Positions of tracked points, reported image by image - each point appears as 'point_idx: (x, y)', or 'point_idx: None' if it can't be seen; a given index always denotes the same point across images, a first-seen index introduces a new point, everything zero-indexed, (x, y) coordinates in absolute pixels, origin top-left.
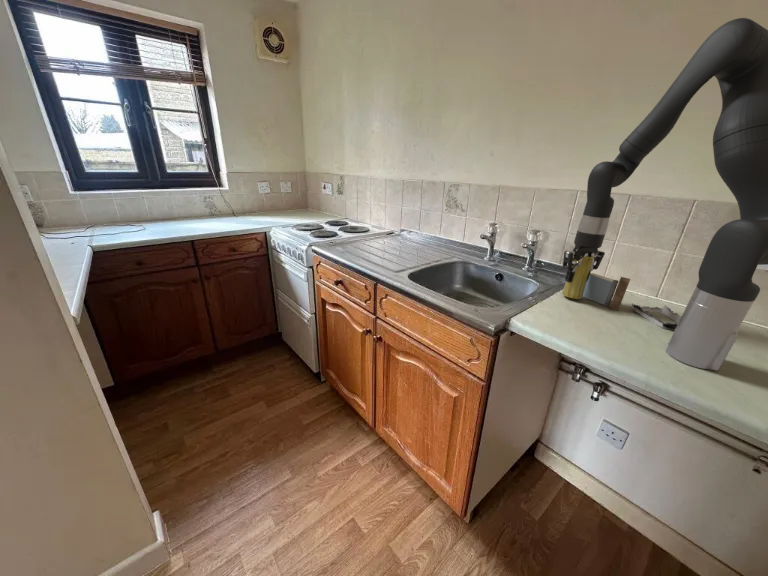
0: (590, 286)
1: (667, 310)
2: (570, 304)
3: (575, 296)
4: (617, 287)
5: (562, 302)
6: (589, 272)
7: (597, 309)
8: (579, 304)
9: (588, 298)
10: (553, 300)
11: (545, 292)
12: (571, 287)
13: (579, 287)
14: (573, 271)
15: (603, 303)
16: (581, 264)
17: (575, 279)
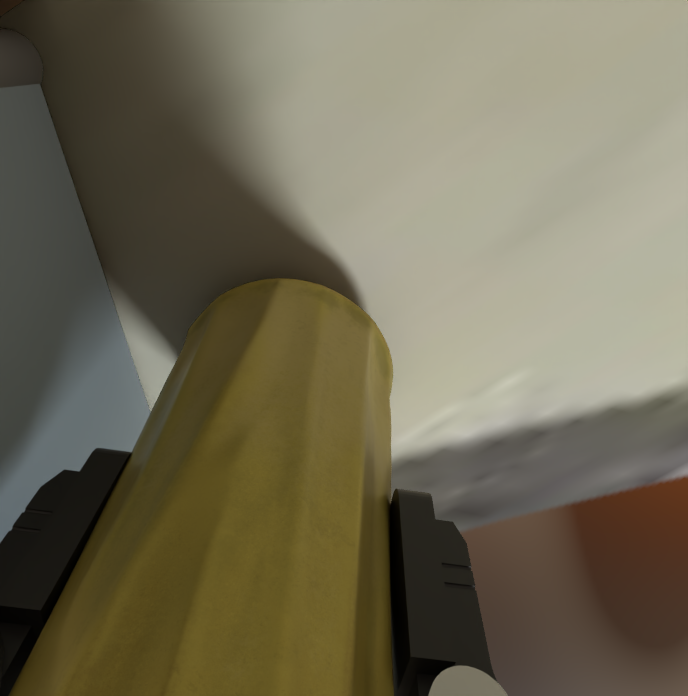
0: (39, 379)
1: None
2: (461, 242)
3: (344, 312)
4: None
5: (499, 306)
6: (17, 592)
7: (248, 18)
8: (351, 209)
9: (105, 283)
10: (544, 367)
11: (433, 504)
12: (376, 427)
13: (318, 375)
14: (472, 683)
15: (38, 101)
16: None
17: (372, 510)
